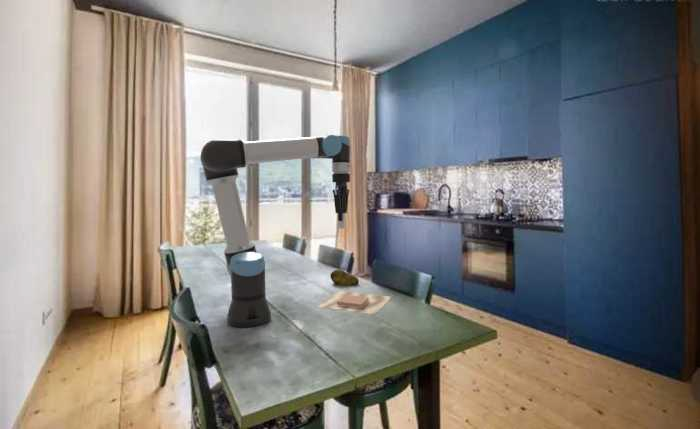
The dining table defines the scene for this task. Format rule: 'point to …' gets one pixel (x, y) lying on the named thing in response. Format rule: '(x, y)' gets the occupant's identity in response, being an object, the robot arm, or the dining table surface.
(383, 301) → the board
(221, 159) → the robot arm
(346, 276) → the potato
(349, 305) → the tile
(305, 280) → the dining table surface
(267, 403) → the dining table surface
